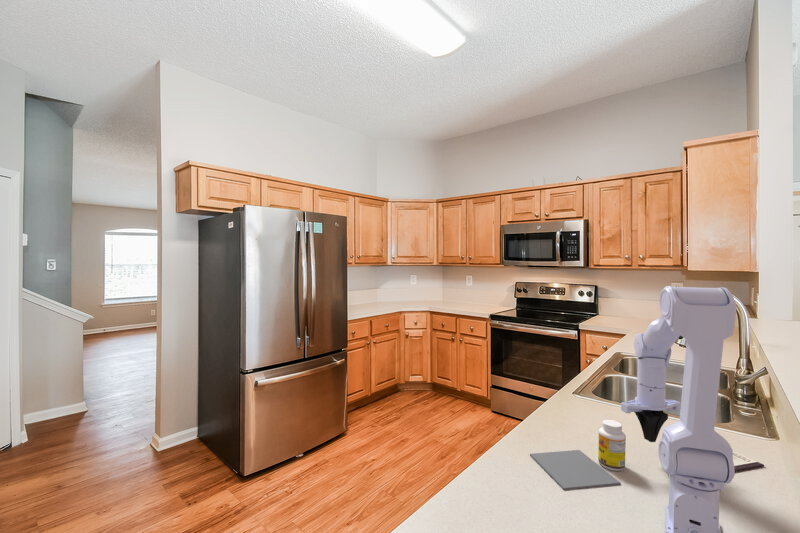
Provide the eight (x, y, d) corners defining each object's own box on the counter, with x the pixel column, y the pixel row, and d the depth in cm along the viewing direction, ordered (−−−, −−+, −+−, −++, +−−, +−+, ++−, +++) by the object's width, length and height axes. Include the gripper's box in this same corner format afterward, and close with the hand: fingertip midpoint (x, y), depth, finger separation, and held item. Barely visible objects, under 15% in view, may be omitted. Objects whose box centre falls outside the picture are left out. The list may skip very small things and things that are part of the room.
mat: (579, 451, 94) (579, 449, 94) (620, 484, 80) (620, 482, 80) (529, 455, 92) (529, 453, 92) (563, 489, 78) (563, 488, 78)
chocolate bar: (669, 454, 92) (722, 446, 97) (669, 458, 92) (722, 449, 97) (707, 475, 84) (764, 464, 88) (706, 479, 84) (764, 468, 88)
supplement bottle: (596, 457, 92) (597, 416, 91) (622, 461, 90) (623, 420, 89) (600, 469, 86) (601, 425, 86) (627, 474, 84) (628, 430, 84)
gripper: (663, 378, 94) (661, 430, 95) (612, 380, 92) (611, 434, 92) (688, 387, 87) (687, 444, 88) (634, 390, 85) (633, 448, 85)
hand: (649, 440), depth 89 cm, fingers closed
